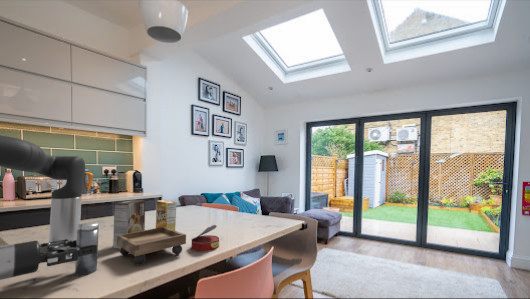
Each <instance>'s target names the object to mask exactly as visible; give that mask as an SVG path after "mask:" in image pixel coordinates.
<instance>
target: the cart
mask: <svg viewBox="0 0 530 299" xmlns="http://www.w3.org/2000/svg"><path fill="white" fill-rule="evenodd" d="M186 244H187V234H185V233H183V232H180V231H177V230H176V229H175V230H172V229H169V228H166V227H160V228H156V227H155V228H150V229H145V230H144V231H138V232H133V233H127V234H122V235H117V245H118V246H120V247H121V248H119V253H120V254H121V255H122V256H127V255H129V254H131V255H133V256H134V257H133V262H134V263H135V265H138V266H139V265H140V266H141V265H142V264H144V263H145V261H146V258H147V257H146V255H147V254H150V253H154V252H158V251H161V250H166V249H170V248H172V249H171V251H172V253H173V254H174V255H180V254H181V253H182V252H183V246H182V245H186Z"/></svg>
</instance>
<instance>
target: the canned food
mask: <svg viewBox="0 0 530 299" xmlns="http://www.w3.org/2000/svg"><path fill="white" fill-rule="evenodd" d="M215 229H217V225H216V224H212V225H211V226H208V227H207V228H206V229H204V230H203V232H201V233H200V234H198V235H197V236H196V237H193V238H191V250H192V251H195V252H209V251H210V252H211V251H214V250H217V249H219V247H220V237H218V236H217V235H207V233H210V232H211V231H213V230H215Z"/></svg>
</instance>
